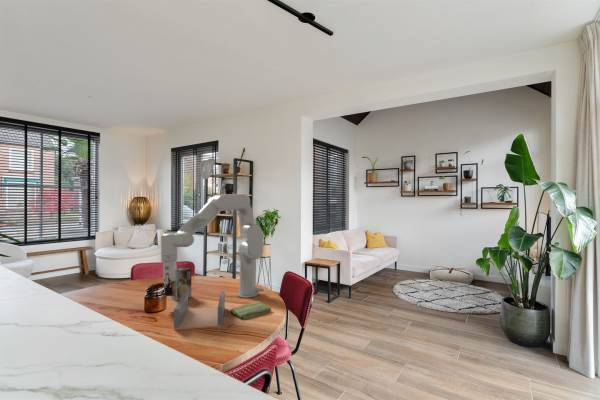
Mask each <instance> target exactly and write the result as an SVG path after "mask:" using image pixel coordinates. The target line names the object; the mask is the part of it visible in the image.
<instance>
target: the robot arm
mask: <svg viewBox="0 0 600 400" xmlns="http://www.w3.org/2000/svg"><path fill="white" fill-rule="evenodd" d="M221 211H223V212H226V211H228V212H229V211H236V212H237V214H238V221H239V224H238V225H239V235H240V236H241V238H243V239H245V240H244V241H242V242H241V243H240V244H239V246H238V257H239V280H238V281H239V288H238V289H239V291H236V296H237V297H238V298H244V299H245V298H246V299H248V298H255V297H257V296H258V295H259V292H264V287H257V285H256V284H257V260H258V259H260V258H261V257H262V256H263V253H264V237H263V236H264V235H263V229H262V228H261V226H260V225H259V224H257V223H255V217H254V211H253V209H252V206H251V200H250V197H249V196H248V195H247V194H246V193H234V194H216V195H214V196H212V197H211V198H210V199H209V200H208V201H207V202H206V203H205V204H204V205H203V207H202V208H201V209H200V210H199V211H198V212H197V213H196V214H195V215H193V216H192V217H191V218H190V219H189V220H188V221H186V222H185V223H184V224H183V225H182V226H181V227H180V228H179V229H178V230H177V232H175V233H171V232H168V233H163V234H161V236H160V250H161V251H160V252H161V253H160V254H161V255H160V258H161V259H160V260H161V262H162V263H163V264H162V281H163V283H165V295H166V296H165V297H170V296H169V295H172V287H171V282H172V281H174V280H175V279H176V278H177V269H178V268H177V261H178V248H187V247H190V246H193V244H194V242H195V238H194V236H193V235H194V234H195V233H196V232H198V231H199V230H200V229H203V228H204V227H207V226H208V225H210V224H211V223H212V221H214V219H215V218H216V217H218V215H219V214H220V213H221ZM169 282H170V284H169Z"/></svg>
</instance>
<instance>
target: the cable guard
mask: <svg viewBox="0 0 600 400" xmlns="http://www.w3.org/2000/svg"><path fill="white" fill-rule="evenodd" d="M225 308H226V291H220V295H219V299H218V305H217V307H202V308H201V307H200V308H189V297H188V293H184V294H183V296H182V297H181V299H180V300H178V302H177V304H176V305H175V307H174V309H173V311H174V313H173V315H174V316H173V330H174V331H175V330H191V329H192V330H193V329H207V328H221V327H223V324H224V318H225V317H224V315H225Z"/></svg>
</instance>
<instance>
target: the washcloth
mask: <svg viewBox="0 0 600 400" xmlns="http://www.w3.org/2000/svg"><path fill="white" fill-rule="evenodd" d="M229 311H230V312H231V313H232V314H233V315H235V316H237V317H238V318H241V319H243V320H247V319H251V318H254V317H257V316H261V315H264V314H268V313H271V311H272V307H270V306H268V305H266V304H264V303H263V302H261V301H260V300H259V301H258V300H257V301H254V302H251V303H246V304H244V305H243V304H242V305H239V306H235V307H233V308H231V309H230V310H229Z"/></svg>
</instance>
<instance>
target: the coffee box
mask: <svg viewBox="0 0 600 400" xmlns="http://www.w3.org/2000/svg"><path fill="white" fill-rule="evenodd" d="M174 281H176V294H175V295H174V296H170V298H171V299H172V300H173V301H180V299H181V297H182V296H183V294H184V293H188V298H191V297H192V268H188V267H180V268H177V278H176V279H175V280H174Z"/></svg>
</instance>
